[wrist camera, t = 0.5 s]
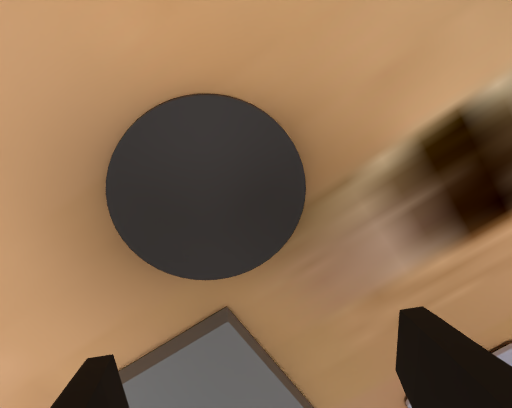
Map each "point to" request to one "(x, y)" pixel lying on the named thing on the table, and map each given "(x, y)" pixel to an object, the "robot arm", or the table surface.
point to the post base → (210, 371)
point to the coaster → (205, 187)
